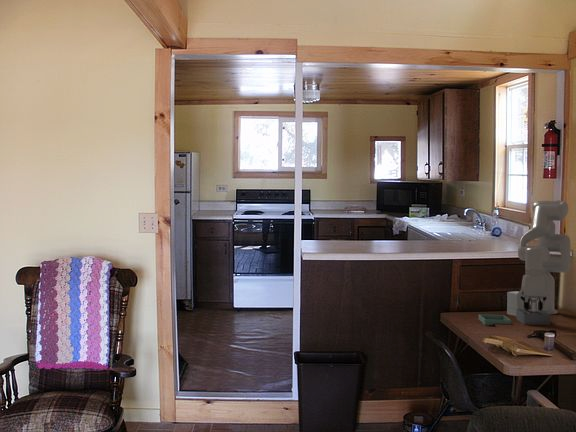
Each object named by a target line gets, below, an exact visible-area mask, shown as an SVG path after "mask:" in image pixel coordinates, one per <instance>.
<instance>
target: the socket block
mask: <svg viewBox="0 0 576 432" xmlns="http://www.w3.org/2000/svg"><path fill="white" fill-rule="evenodd" d="M551 315H552V314H548V313H547V312H545V311H543V310H542V311H540V310H537V312H536V313H530V309H528V311H527V310H525V309H517V311H516V316H515V318H516V321H518V322H520V323H521V324H522V325H525V326H551V317H552V316H551Z"/></svg>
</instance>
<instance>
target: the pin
mask: <svg viewBox="0 0 576 432" xmlns="http://www.w3.org/2000/svg"><path fill="white" fill-rule="evenodd" d="M537 300H538V297H529V298H528V301H529V310H530V313H536V312H537Z"/></svg>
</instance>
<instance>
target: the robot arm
mask: <svg viewBox="0 0 576 432" xmlns="http://www.w3.org/2000/svg"><path fill="white" fill-rule="evenodd" d="M531 209H532V212H533V213H532V214H533V215H532V222H531V226H530V229H528V230H526V232H524V234H523V235H522V236H521V238H520V240H519V244H518V249H517V256H518V259H519V260H521V261H523V262H524V261H525V262H524V264H525V266H524V268H525V269H524V271H525V273H524V274H523V275H522V279H521V289H520V290H519V292H518V293H517V295H518V296H519V297H520V298H521V299H522V300H523V301H524V308H525V310H527V311H528V310H529V299H528V298H529V297H538V300H537V310H540V311H542V310H543V311H545V312H547V313H548V314H550V315H556V314H557V315H558V310H556V309H555V294H556V293H555V292H556V291H555V289H556V285H555V284H556V283H555V278H554V277H553V275H552V274H551V273H561V274H562V273H563V274H565V273H568V272H569V271H570V268H571V248H572V247H571V239H570V235H569V236H568V234H565V233H564V234H563V233H562V234H559V233H556V223H555V222H554V221H558V222H559V221H561V222H562V221H563V220H564V219H565V218H566V217H567V215H568V214H569V204H568V203H567V201H564V200H537V201H535V202H533V203H532V207H531ZM534 240H537V245H527V244H528V243H530V242H532V241H534ZM550 252H551V253H550ZM552 252H554V253H552ZM555 252H556V253H555ZM558 253H560V254H558ZM521 294H522V295H525V296H524V297H523V296H522V295H521ZM527 301H528V302H527Z"/></svg>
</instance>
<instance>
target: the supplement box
mask: <svg viewBox="0 0 576 432" xmlns="http://www.w3.org/2000/svg"><path fill="white" fill-rule="evenodd" d="M519 291H520V290H519ZM519 291H516V290H515V291H514V290H513V291H507V292H506V296H507V297H506V306H507V307H506V314H507V315H508V316H514V317H516V311H517V309H525V308H524V301H523V300H522V299H521V298H520V297H519V296H518V295H517V293H518V292H519ZM521 295H522V294H521ZM522 296H523V297H524V296H525V295H522ZM527 302H528V303H529V300H528V301H527Z"/></svg>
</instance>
